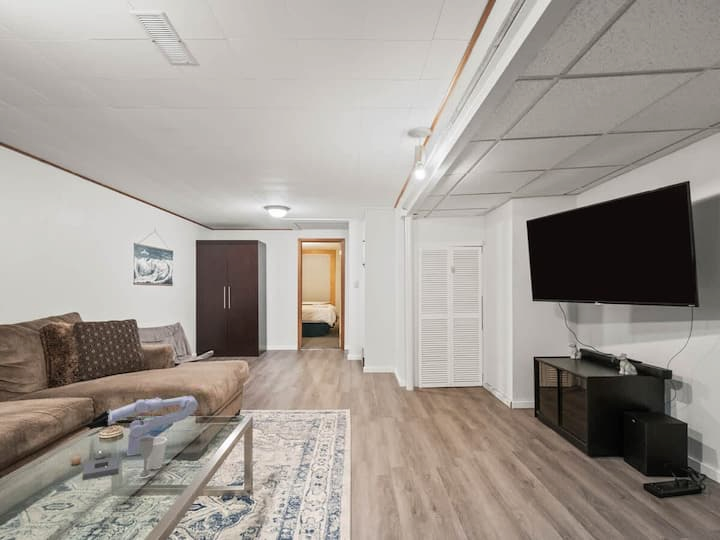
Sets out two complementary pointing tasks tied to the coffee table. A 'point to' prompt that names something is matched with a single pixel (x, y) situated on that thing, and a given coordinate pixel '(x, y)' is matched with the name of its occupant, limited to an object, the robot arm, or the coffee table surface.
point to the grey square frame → (100, 467)
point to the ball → (76, 460)
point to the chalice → (145, 451)
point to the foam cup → (157, 453)
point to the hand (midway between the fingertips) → (92, 424)
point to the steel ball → (100, 454)
